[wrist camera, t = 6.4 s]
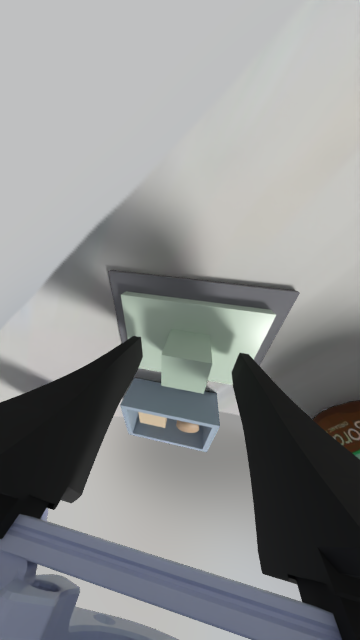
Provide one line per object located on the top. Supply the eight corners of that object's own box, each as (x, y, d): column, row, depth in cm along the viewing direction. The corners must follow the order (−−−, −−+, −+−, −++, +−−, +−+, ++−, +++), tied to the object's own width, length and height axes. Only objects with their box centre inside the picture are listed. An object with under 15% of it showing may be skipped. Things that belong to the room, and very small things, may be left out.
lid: (135, 360, 14) (116, 394, 11) (126, 291, 10) (92, 311, 7) (238, 379, 13) (249, 421, 10) (270, 309, 9) (306, 342, 6)
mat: (128, 362, 15) (126, 365, 14) (111, 270, 10) (108, 271, 9) (245, 383, 14) (247, 387, 13) (296, 290, 9) (299, 292, 8)
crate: (139, 407, 19) (128, 434, 17) (134, 377, 16) (120, 405, 13) (206, 421, 19) (206, 452, 16) (216, 393, 15) (219, 426, 12)
